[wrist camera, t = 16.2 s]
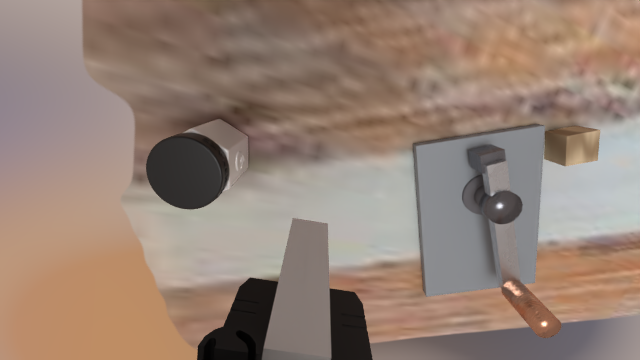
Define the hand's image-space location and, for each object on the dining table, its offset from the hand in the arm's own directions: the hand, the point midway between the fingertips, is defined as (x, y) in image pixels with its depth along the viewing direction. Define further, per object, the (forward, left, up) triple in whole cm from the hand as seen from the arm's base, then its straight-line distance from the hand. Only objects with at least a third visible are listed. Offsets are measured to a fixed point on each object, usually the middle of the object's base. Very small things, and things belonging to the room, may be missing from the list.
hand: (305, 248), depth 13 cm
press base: (+16, +22, -30) cm, 41 cm away
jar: (0, -14, -31) cm, 34 cm away
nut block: (+7, +31, -29) cm, 43 cm away
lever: (+16, +22, -28) cm, 39 cm away
